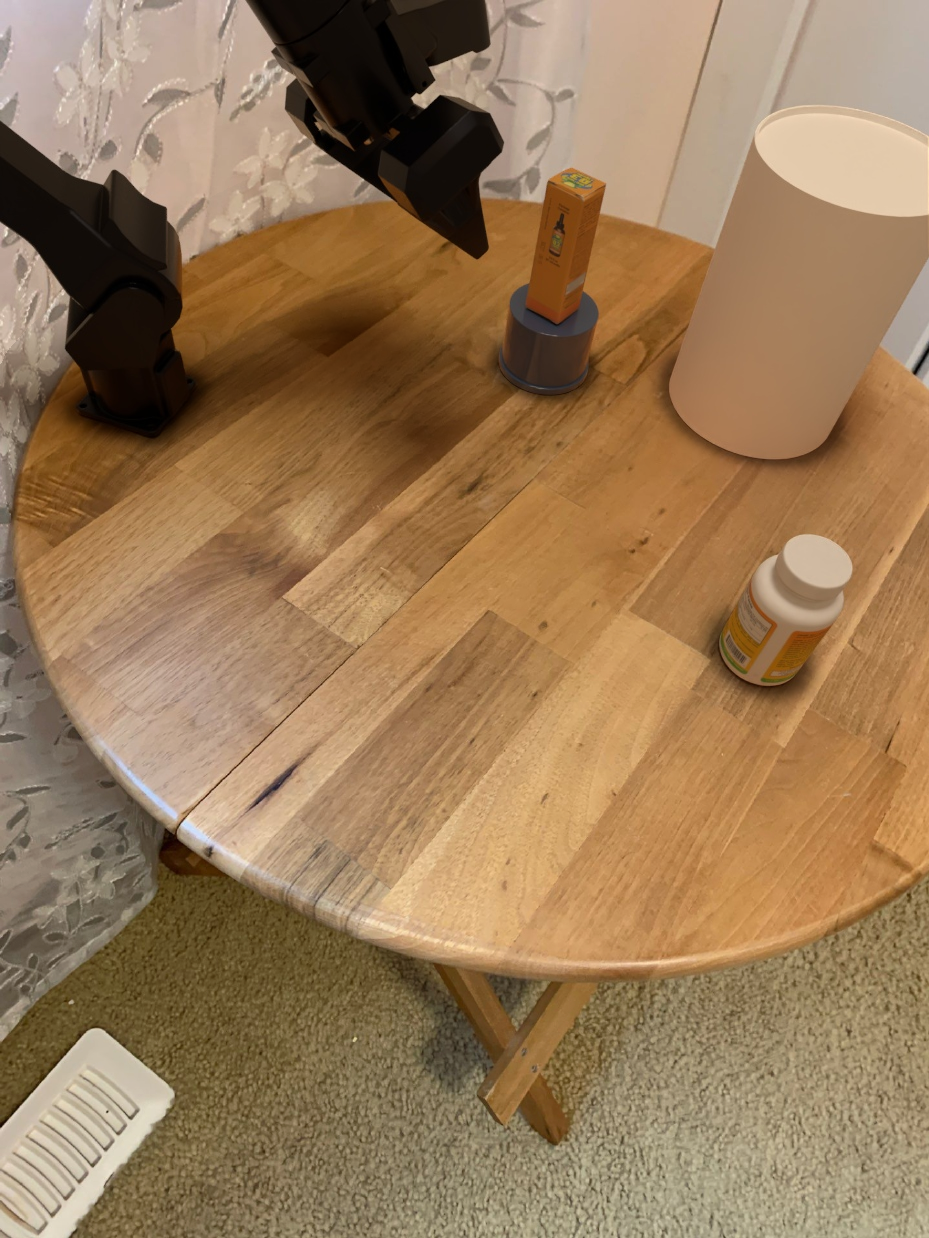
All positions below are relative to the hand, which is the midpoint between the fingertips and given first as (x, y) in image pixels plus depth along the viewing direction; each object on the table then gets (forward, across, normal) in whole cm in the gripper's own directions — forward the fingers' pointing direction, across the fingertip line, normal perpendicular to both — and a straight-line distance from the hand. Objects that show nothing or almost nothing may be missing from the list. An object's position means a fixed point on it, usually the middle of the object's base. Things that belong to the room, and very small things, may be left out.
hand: (447, 229), depth 60 cm
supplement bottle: (+20, -29, +4) cm, 35 cm away
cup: (+16, +1, -1) cm, 16 cm away
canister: (+25, -9, -12) cm, 29 cm away
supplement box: (+11, 0, -4) cm, 12 cm away
